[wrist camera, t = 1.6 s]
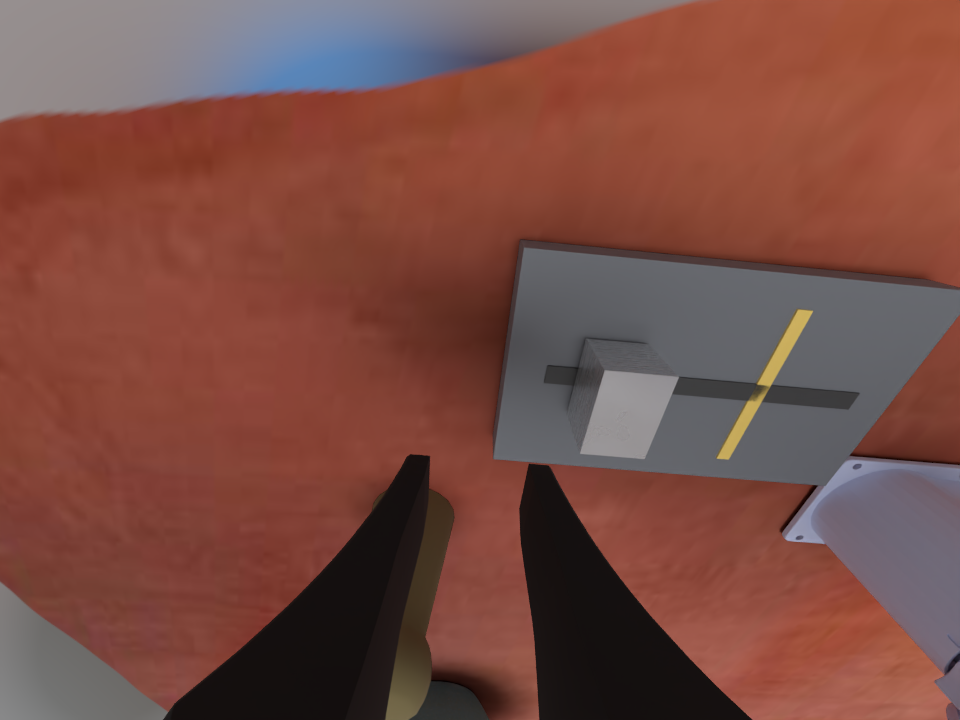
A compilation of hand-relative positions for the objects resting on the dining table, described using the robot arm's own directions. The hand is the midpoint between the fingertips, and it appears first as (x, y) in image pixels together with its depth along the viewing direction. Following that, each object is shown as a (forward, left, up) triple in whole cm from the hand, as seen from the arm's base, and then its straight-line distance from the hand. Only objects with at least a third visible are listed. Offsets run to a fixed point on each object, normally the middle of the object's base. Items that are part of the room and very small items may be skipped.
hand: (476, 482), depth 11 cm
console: (-11, 0, -9) cm, 15 cm away
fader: (-6, 0, -7) cm, 10 cm away
